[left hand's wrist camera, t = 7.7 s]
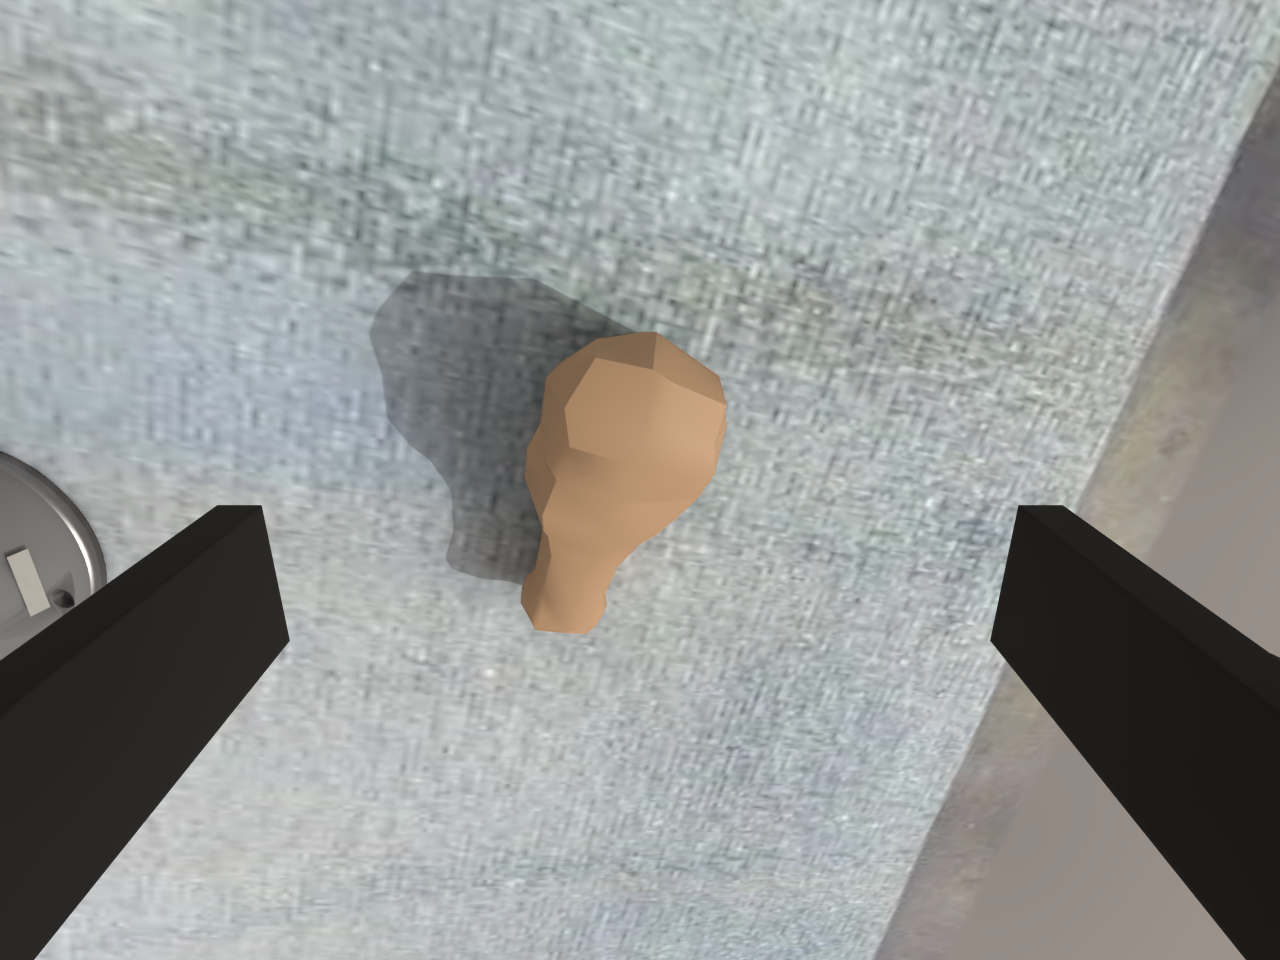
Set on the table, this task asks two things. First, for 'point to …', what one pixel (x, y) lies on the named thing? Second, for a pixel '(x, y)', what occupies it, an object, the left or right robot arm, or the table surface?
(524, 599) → the squash
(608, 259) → the table surface
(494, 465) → the table surface
